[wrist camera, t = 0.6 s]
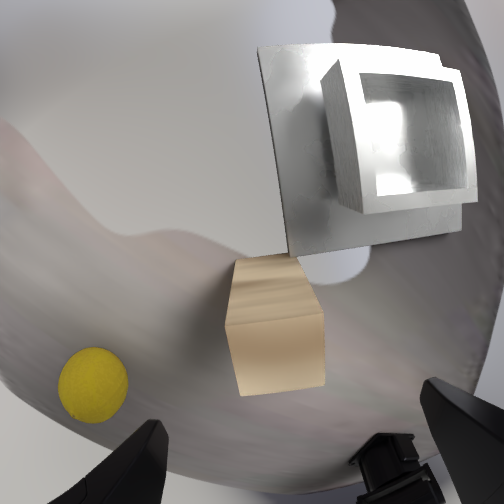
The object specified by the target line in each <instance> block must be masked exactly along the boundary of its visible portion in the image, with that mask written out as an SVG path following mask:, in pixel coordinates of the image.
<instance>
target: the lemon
mask: <svg viewBox="0 0 504 504" xmlns="http://www.w3.org/2000/svg"><path fill="white" fill-rule="evenodd" d="M127 390H128V376H127V372H126V369H125V367H124V365H123V364H122V362H121V361H120V360H119V358H118V357H117V356H116V355H114V354H113V353H112V352H110V351H108V350H106V349H103V348H97V347H90V348H85V349H83V350H81V351H79V352H77V353H76V354H74V355H73V356H72V357H71V358H70V359H69V360H68V362H67V363H66V364H65V366H64V368H63V369H62V372H61V374H60V377H59V383H58V392H59V397H60V400H61V402H62V404H63V406H64V408H65V409H66V410H67V412H68V413H69V414H70V416H71V417H72V418H74V419H78V420H79V421H82V422H85V423H101V422H104V421H106V420H108V419H109V418H111V417H112V416H113V415H114V414H115V413H116V412H117V411H118V409H119V408H120V407H121V405H122V404H123V402H124V400H125V398H126V394H127Z"/></svg>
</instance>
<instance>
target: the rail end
mask: <svg viewBox="0 0 504 504" xmlns="http://www.w3.org/2000/svg"><path fill="white" fill-rule="evenodd" d="M225 330H226V335H227V339H228V344H229V349H230V353H231V358H232V362H233V366H234V371H235V375H236V379H237V384H238V388H239V392H240V396H250V395H260V394H269V393H278V392H285V391H292V390H299V389H305V388H312V387H317V386H323V385H325V340H324V313H323V311H322V308H321V306H320V304H319V302H318V300H317V298H316V296H315V294H314V292H313V290H312V288H311V286H310V284H309V281H308V279H307V277H306V275H305V274H304V271H303V269H302V268H301V265H300V263H299V261H298V259H297V257H292V258H290V256H289V253H282V254H275V255H268V256H260V257H253V258H245V259H238V260H236V263H235V268H234V274H233V280H232V286H231V292H230V297H229V303H228V309H227V315H226V321H225Z"/></svg>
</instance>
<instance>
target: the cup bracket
mask: <svg viewBox="0 0 504 504" xmlns="http://www.w3.org/2000/svg"><path fill="white" fill-rule="evenodd" d="M257 56H258V62H259V66H260V72H261V77H262V83H263V89H264V94H265V100H266V105H267V112H268V117H269V123H270V129H271V136H272V142H273V148H274V154H275V161H276V168H277V174H278V181H279V188H280V195H281V202H282V209H283V217H284V224H285V232H286V239H287V247H288V253H289V256H290V258H292V257H298V256H304V255H311V254H318V253H324V252H331V251H337V250H344V249H349V248H356V247H363V246H369V245H376V244H382V243H388V242H394V241H401V240H407V239H413V238H419V237H425V236H431V235H437V234H443V233H449V232H455V231H461V226H462V208H461V203H469V202H478V199H477V175H476V162H475V152H474V143H473V136H472V129H471V123H470V117H469V111H468V106H467V101H466V96H465V92H464V87H463V83H462V79H461V75H460V72H459V71H458V70H454V69H449V68H444V67H442V66H441V63H440V59H439V56H438V55H436V54H431V53H426V52H420V51H414V50H408V49H401V48H393V47H384V46H373V45H358V44H293V45H280V46H279V45H278V46H266V47H258V48H257Z"/></svg>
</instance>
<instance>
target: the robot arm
mask: <svg viewBox="0 0 504 504" xmlns="http://www.w3.org/2000/svg"><path fill="white" fill-rule="evenodd" d="M420 403H421V406H422V409H423V411H424V414H425V417H426V420H427V423H428V426H429V429H430V432H431V434H432V437H433V439H434V441H435V443H436V445H437V448H438V450H439V452H440V454H441V456H442V458H443V461H444V463H445V465H446V467H447V470H448V472H449V474H450V476H451V479H452V481H453V484H454V486H455V488H456V491H457V493H458V496H459V498H460V501H461V503H462V504H504V410H503V409H501V408H499V407H497V406H495V405H493V404H491V403H488V402H486V401H484V400H482V399H480V398H478V397H476V396H474V395H472V394H469V393H467V392H465V391H463V390H461V389H459V388H457V387H455V386H453V385H451V384H449V383H447V382H445V381H443V380H441V379H439V378H436V377H432V378H429V379H427V380H425V381H424V383H423V387H422V390H421V394H420ZM414 438H415V436H414V434H392V433H379V434H377V435H375V437H374V438H373V439H372V440H371V441H370V442H369V443H368V444H367V445H366V446H365V447H364V448H363V449H362V450H361V451H360V452H359V453H358V454H357V455H356V456H355V457H354V458H353V459H352V460H351V461H349V466H359V467H360V470H361V473H362V476H363V480H364V483H365V486H366V490H367V493H366V494H364V495H360V496H358V497H357V502H356V504H445V503H446V501H445V499H444V496H443V494H442V491H441V489H440V487H439V485H438V483H437V481H436V479H435V477H434V475H433V473H432V471H431V469H430V467H429V465H428V463H425V464H424V465H423V466H420V464H419V462H418V459H419V455H418V453H417V451H416V449H415V447H414V445H413V443H412V440H413V439H414ZM168 442H169V437H168V434H167V432H166V430H165V428H164V426H163V424H162V422H161V421H160V420H156V419H149V420H147V421H146V422H145V423H144V424H143V425H142V426H140V427H139V428H138V429H137V430H136V431H135V432H134V433H133V434H132V435H131V436H130V437H129V438H128V439H126V440H125V441H124V442H123V443H122V444H121V445H120V446H119V447H118V448H117V449H115V450H114V451H113V452H112V453H111V454H110V455H109V456H108V457H107V458H106V459H104V460H103V461H102V462H101V463H100V464H99V465H97V466H96V467H95V468H94V469H93V470H92V471H91V472H89V473H88V474H87V475H86V476H85V478H82V479H81V480H80V481H79V482H78V483H76V484H75V485H74V486H73V487H71V488H70V489H69V490H67V491H66V492H65V493H63V494H62V495H60V496H59V497H57V498H56V499H54V500H52V501H51V502H49V503H47V504H161V499H162V494H163V488H164V484H165V478H166V470H167V455H168Z"/></svg>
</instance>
